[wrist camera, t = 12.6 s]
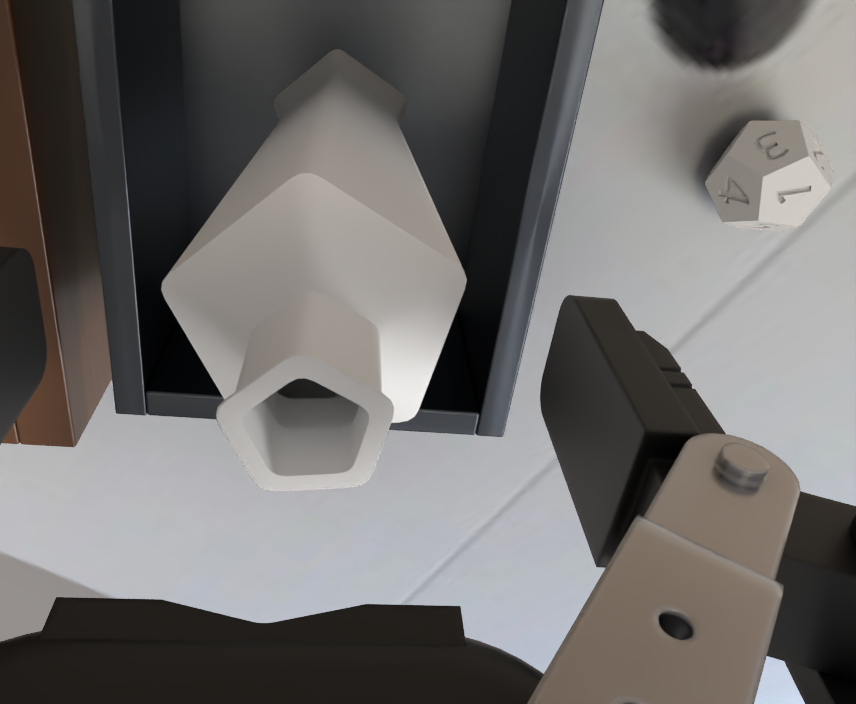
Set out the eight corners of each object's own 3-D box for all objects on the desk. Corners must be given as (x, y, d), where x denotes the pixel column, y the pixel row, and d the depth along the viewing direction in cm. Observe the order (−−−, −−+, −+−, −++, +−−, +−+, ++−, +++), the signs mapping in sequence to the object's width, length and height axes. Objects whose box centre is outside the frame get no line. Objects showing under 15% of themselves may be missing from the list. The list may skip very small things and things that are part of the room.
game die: (796, 204, 25) (845, 239, 22) (688, 221, 25) (724, 258, 23) (810, 98, 23) (865, 123, 21) (693, 117, 23) (733, 145, 21)
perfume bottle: (277, 15, 20) (127, 211, 7) (429, 64, 21) (524, 313, 8) (246, 171, 22) (90, 529, 10) (384, 210, 23) (407, 581, 11)
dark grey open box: (171, 299, 25) (115, 414, 20) (144, -187, 18) (45, -225, 13) (474, 324, 27) (503, 437, 21) (557, -120, 20) (634, -127, 14)
